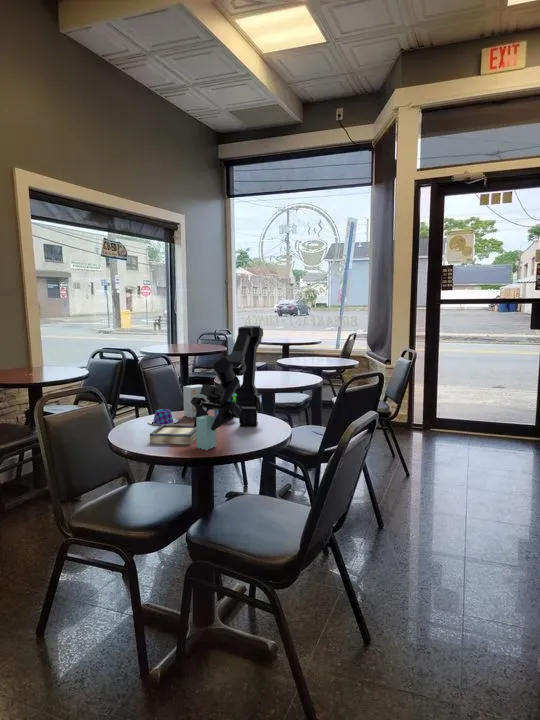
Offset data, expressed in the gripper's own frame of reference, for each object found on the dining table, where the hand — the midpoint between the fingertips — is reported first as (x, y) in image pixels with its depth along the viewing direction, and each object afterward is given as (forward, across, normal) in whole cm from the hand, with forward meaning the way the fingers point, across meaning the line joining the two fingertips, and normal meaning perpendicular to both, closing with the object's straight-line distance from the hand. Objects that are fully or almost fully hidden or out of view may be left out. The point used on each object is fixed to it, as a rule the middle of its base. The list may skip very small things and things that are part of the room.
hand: (203, 428), depth 152 cm
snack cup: (-22, -25, +31) cm, 46 cm away
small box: (-19, -38, +28) cm, 51 cm away
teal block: (+4, 0, +6) cm, 7 cm away
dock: (+3, -16, +7) cm, 18 cm away
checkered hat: (-7, -39, +17) cm, 44 cm away
